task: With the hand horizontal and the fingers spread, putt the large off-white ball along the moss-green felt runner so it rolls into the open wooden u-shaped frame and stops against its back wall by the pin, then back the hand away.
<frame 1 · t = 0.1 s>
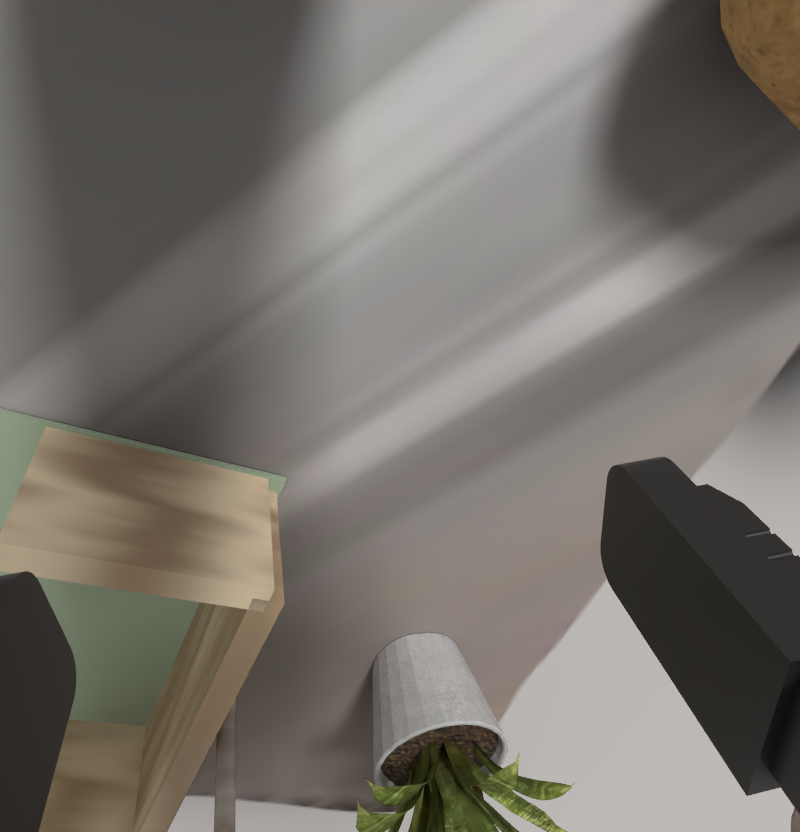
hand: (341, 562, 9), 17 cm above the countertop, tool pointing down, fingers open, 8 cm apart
wooden u-shaped frame: (60, 605, 31), resting on green mat
house plant: (392, 661, 39), on the countertop
green mat: (62, 600, 31), on the countertop
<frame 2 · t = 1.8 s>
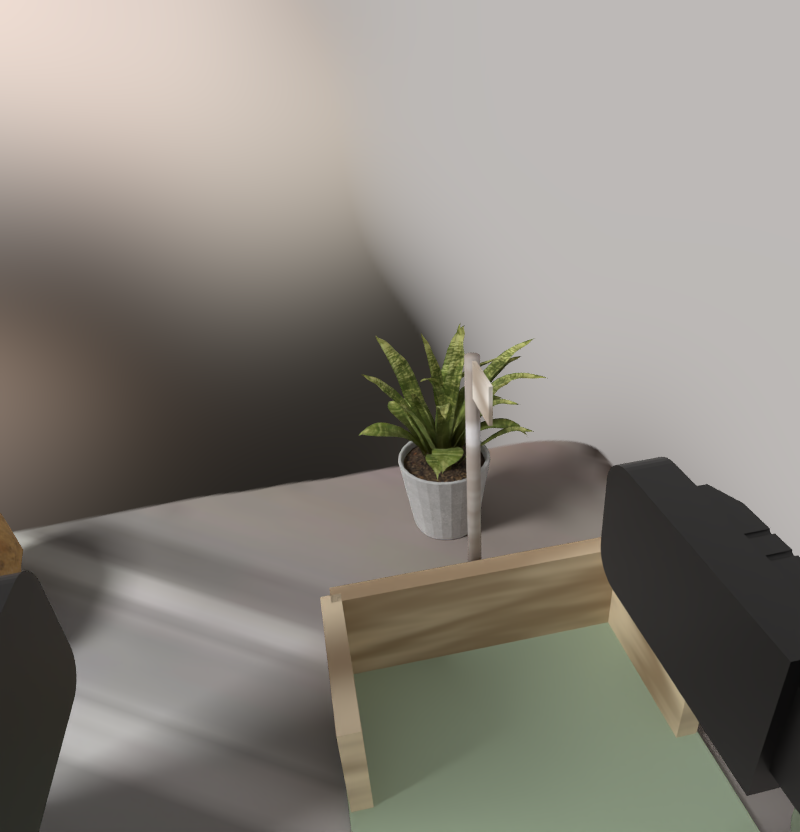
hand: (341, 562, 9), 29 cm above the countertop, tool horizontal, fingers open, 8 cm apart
wooden u-shaped frame: (514, 731, 38), resting on green mat
house plant: (456, 529, 54), on the countertop
green mat: (514, 734, 38), on the countertop
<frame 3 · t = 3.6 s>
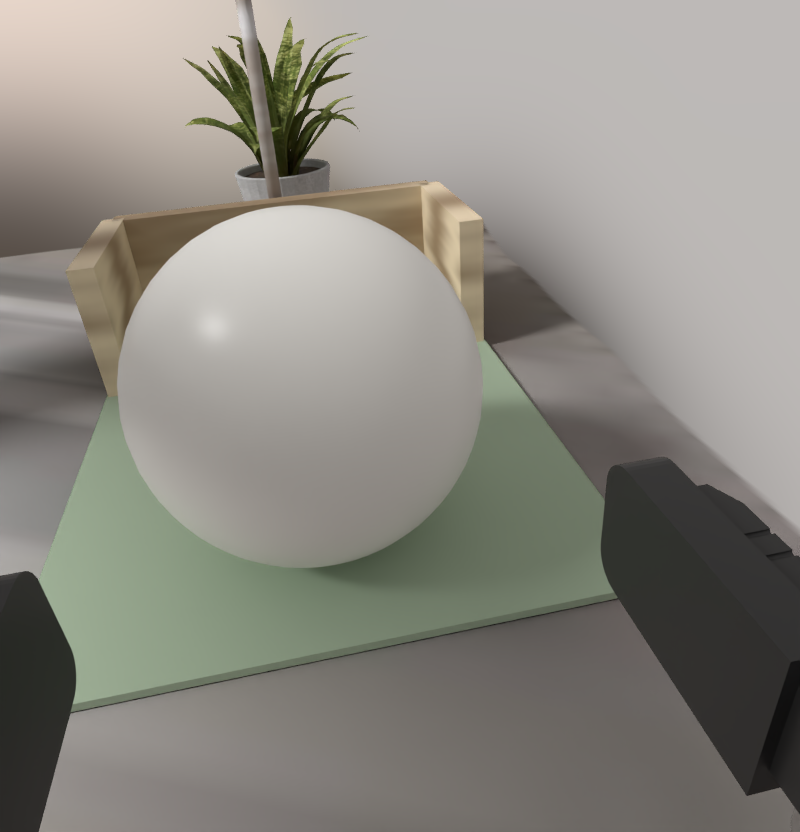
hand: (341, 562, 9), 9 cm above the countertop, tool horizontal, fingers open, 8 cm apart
wooden u-shaped frame: (299, 348, 36), resting on green mat
house plant: (302, 256, 52), on the countertop
green mat: (300, 353, 37), on the countertop
ball: (306, 388, 21), point 6 cm above the countertop, touching green mat
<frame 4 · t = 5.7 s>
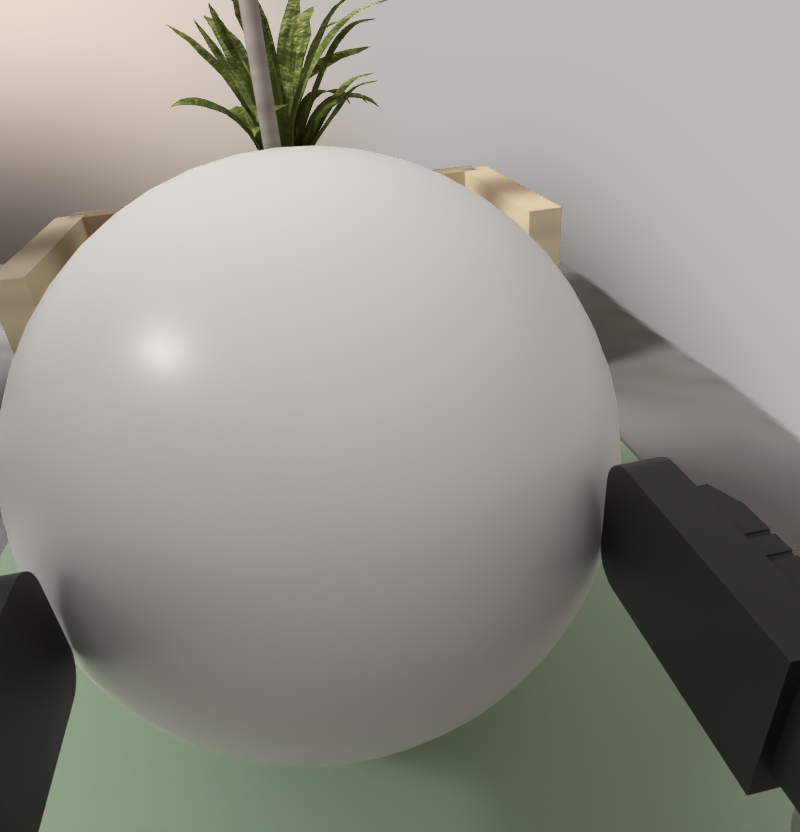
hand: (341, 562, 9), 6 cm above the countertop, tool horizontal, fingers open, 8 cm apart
wooden u-shaped frame: (311, 382, 28), resting on green mat
house plant: (312, 264, 44), on the countertop
green mat: (312, 388, 28), on the countertop
ball: (325, 448, 13), point 6 cm above the countertop, tilted 10°, touching green mat
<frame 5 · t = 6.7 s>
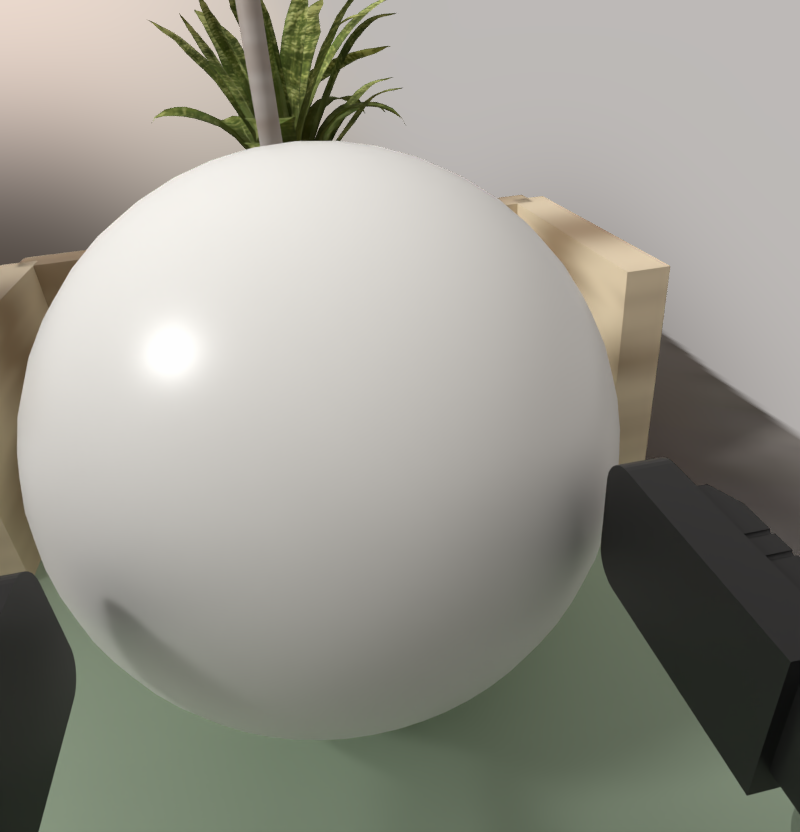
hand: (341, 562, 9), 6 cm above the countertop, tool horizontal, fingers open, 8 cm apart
wooden u-shaped frame: (327, 479, 22), resting on green mat
house plant: (320, 300, 37), on the countertop
green mat: (328, 487, 22), on the countertop
ball: (332, 436, 13), point 6 cm above the countertop, tilted 89°, touching green mat
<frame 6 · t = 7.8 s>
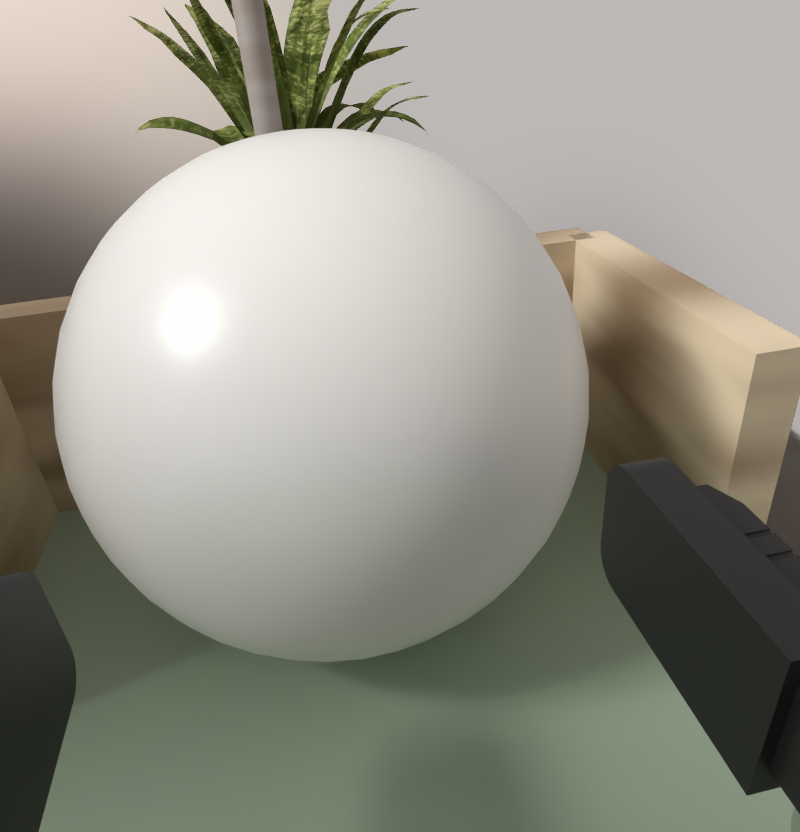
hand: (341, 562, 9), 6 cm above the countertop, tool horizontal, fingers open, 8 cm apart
wooden u-shaped frame: (345, 594, 17), resting on green mat
house plant: (329, 335, 33), on the countertop
green mat: (347, 603, 17), on the countertop
ball: (331, 397, 15), point 6 cm above the countertop, tilted 161°, touching green mat
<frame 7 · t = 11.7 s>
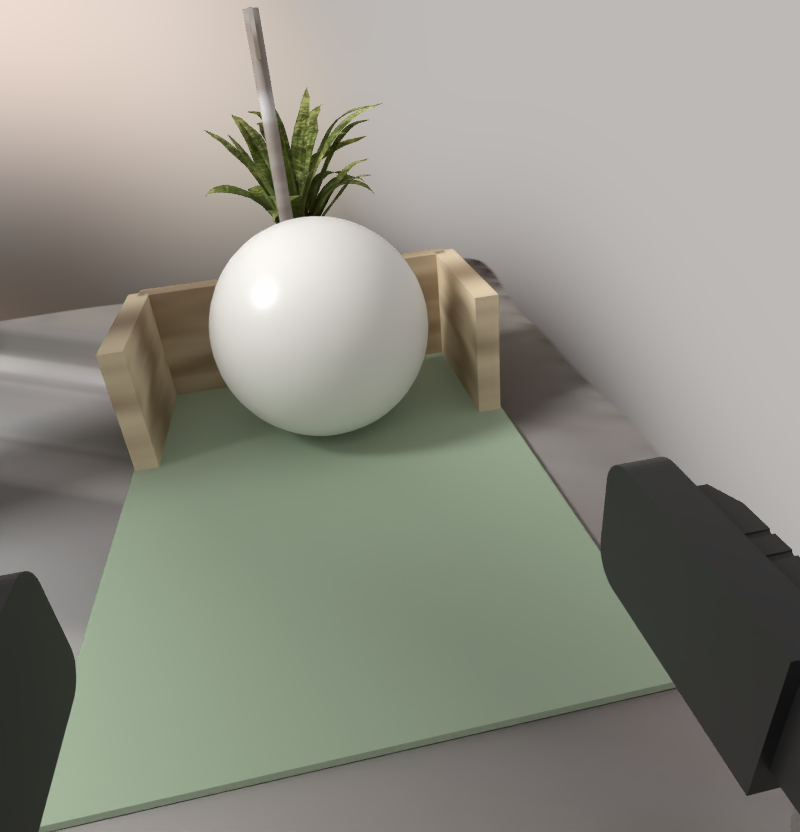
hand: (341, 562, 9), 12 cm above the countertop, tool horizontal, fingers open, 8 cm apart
wooden u-shaped frame: (320, 417, 37), resting on green mat
house plant: (319, 313, 53), on the countertop
green mat: (321, 422, 37), on the countertop
ball: (320, 328, 34), point 6 cm above the countertop, tilted 148°, touching green mat
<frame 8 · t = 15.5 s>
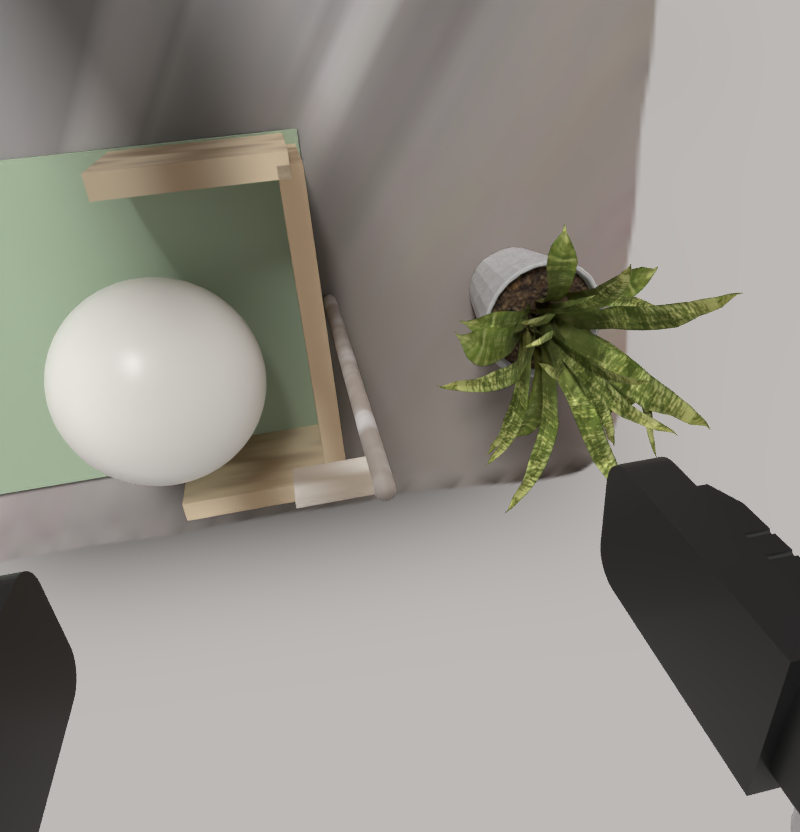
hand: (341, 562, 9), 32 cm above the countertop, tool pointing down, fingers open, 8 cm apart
wooden u-shaped frame: (198, 319, 40), resting on green mat
house plant: (487, 295, 43), on the countertop
green mat: (198, 317, 40), on the countertop
ball: (161, 382, 35), point 6 cm above the countertop, tilted 136°, touching green mat
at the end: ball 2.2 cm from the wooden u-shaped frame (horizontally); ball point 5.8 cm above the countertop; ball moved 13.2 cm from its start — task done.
